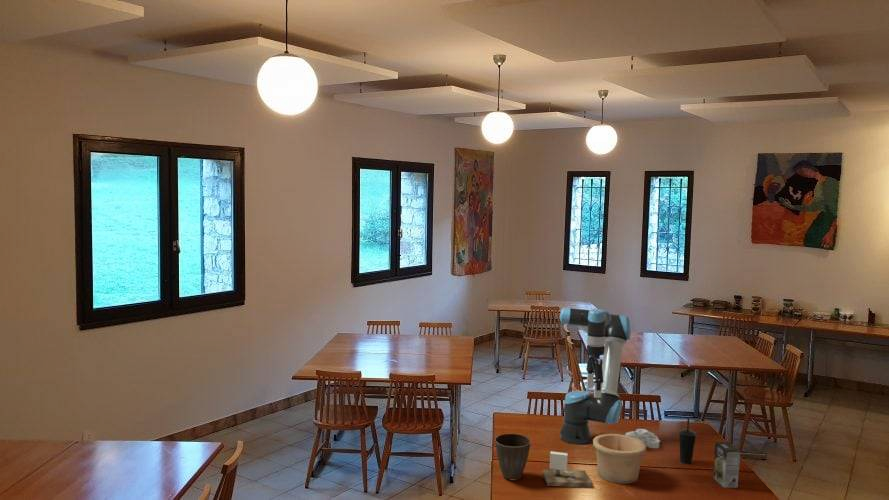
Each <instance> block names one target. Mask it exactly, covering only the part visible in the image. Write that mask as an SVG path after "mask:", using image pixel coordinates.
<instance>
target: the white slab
mask: <svg viewBox="0 0 889 500" xmlns="http://www.w3.org/2000/svg"><path fill="white" fill-rule="evenodd" d="M568 457H569V456H568V453H567V452H558V451H550V453H549V470H556V475H560V470H564V471H567V470H568ZM561 475H565V476H572V477H575V475H572V474H564V473H561Z"/></svg>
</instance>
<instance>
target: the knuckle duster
mask: <svg viewBox="0 0 889 500" xmlns="http://www.w3.org/2000/svg"><path fill="white" fill-rule="evenodd" d="M624 435H627V436H630V437H634V438H636V439H639V440H641V441H642V442H643V443H644V444H645V445H646V448H650V449H659V448H660V442H662V441H661V440H660V439H659V437H658V436H657V435H655V433H653V432H650V431H648V430H647V429H645V428H637V429H636V430H635V431H628V432H626V433H625V434H624Z"/></svg>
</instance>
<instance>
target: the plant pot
mask: <svg viewBox="0 0 889 500" xmlns="http://www.w3.org/2000/svg"><path fill="white" fill-rule="evenodd" d="M531 441H532V440H531V439H530V438H529V437H527V436H526V435H522V434H517V433H503V434H500V435H497V436H495V439H494V443H495V451H496V457H497V461H498V465H499V467H500V471H501V474H502V477H503V476H504V477H505V478H507V479H514V480H513V481H516V480H515V479H519V478H520V479H521V478H522V475H523V473H524V471H525V468H526V466H527V465H526V464H527V461H528V459H529V458H528V457H529V453H530V447H531ZM504 477H503V478H504ZM505 478H504V479H505ZM507 479H506V480H507ZM520 479H519V480H520Z"/></svg>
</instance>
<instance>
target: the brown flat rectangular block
mask: <svg viewBox="0 0 889 500" xmlns="http://www.w3.org/2000/svg"><path fill="white" fill-rule="evenodd" d="M561 473H564V474H572V475H575V477H572V476H565V475H561ZM543 475H544V477H543V479H544V478H545V479H544V482H545V481H546V482H545V484H546V483H547V485H546V486H565V487H564V488H585V489H586V488H590V489H591V488H592V481H591V480H590V478H589V475H588V474H587V472H586V470H575V469H573V470H572V469H571V470H570V469H567V471H564V470H560V475H556V469H542V476H543Z"/></svg>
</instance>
